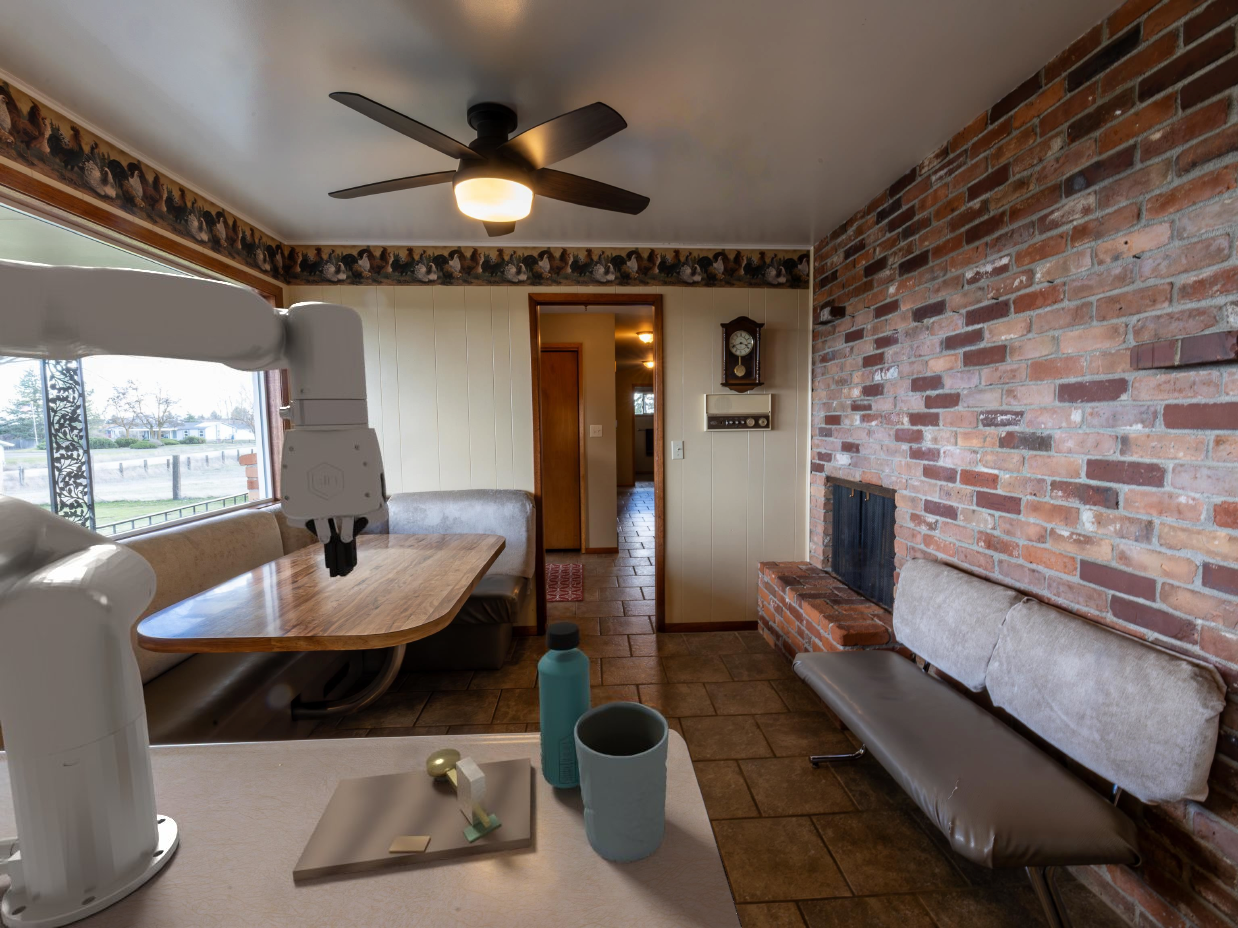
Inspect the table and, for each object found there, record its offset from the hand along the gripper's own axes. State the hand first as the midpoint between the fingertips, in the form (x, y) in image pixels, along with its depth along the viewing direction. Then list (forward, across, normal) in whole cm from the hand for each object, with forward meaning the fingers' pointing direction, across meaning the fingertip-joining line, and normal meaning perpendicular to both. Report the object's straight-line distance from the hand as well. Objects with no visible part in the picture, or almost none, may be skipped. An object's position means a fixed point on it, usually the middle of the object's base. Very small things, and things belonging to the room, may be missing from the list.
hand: (342, 573), depth 61 cm
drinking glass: (+27, +31, -12) cm, 43 cm away
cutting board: (+27, +10, -6) cm, 29 cm away
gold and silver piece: (+26, +13, -6) cm, 29 cm away
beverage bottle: (+27, +26, -4) cm, 38 cm away
